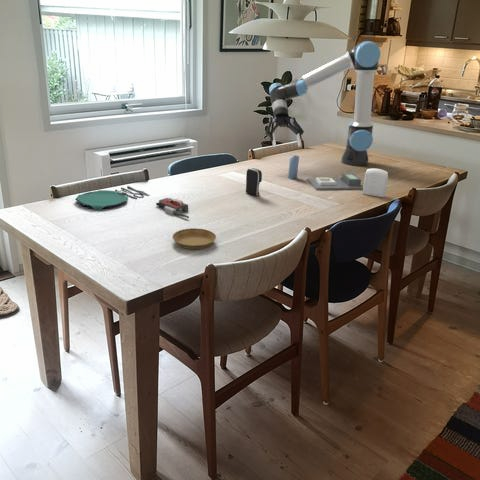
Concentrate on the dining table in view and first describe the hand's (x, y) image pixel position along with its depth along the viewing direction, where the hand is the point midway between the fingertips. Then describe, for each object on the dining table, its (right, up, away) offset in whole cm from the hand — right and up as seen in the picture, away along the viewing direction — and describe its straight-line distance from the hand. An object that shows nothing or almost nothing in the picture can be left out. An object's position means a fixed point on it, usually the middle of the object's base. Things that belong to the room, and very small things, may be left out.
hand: (287, 146), depth 252 cm
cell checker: (+22, -21, -11) cm, 32 cm away
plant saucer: (-40, -49, -82) cm, 104 cm away
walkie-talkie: (-49, -37, -55) cm, 82 cm away
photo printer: (+38, -27, -23) cm, 52 cm away
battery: (-18, -27, -30) cm, 44 cm away
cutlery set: (-77, -31, -45) cm, 95 cm away
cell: (+2, -17, -3) cm, 17 cm away
